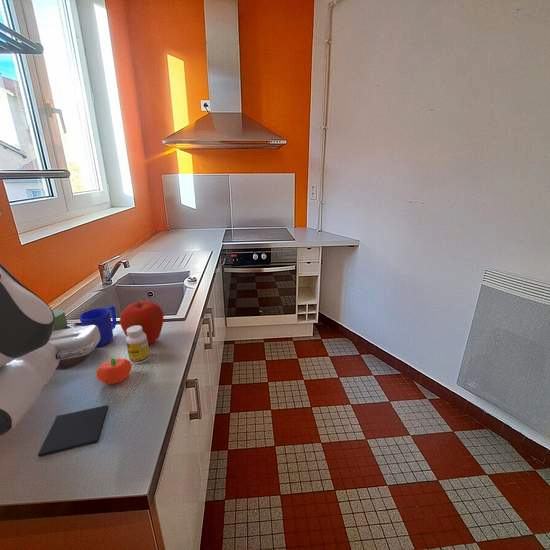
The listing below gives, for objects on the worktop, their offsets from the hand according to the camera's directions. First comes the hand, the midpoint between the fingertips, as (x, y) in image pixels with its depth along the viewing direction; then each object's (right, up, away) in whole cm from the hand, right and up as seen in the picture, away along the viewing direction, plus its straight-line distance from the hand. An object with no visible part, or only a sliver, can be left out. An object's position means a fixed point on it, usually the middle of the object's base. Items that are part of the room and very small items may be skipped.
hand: (56, 328), depth 69 cm
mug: (-5, -9, +29) cm, 31 cm away
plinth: (-10, -12, +19) cm, 24 cm away
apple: (+10, -9, +26) cm, 29 cm away
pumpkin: (+9, -15, +9) cm, 20 cm away
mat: (+9, -20, -6) cm, 23 cm away
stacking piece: (0, -5, +1) cm, 5 cm away
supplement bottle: (+11, -12, +18) cm, 24 cm away
